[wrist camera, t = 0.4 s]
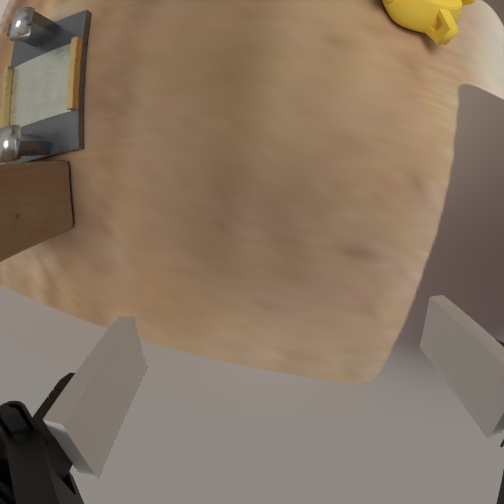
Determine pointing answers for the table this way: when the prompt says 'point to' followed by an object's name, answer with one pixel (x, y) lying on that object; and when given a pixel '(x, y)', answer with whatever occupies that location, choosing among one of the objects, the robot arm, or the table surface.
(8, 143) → the grey metal fixture stand
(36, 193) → the wooden block
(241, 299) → the table surface
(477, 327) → the robot arm
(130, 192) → the table surface
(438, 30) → the yellow rounded piece
